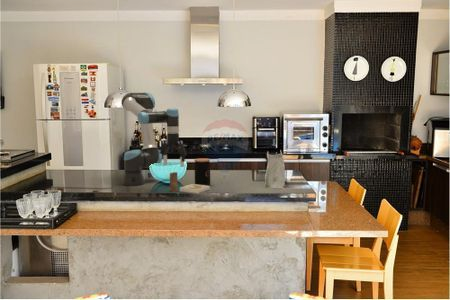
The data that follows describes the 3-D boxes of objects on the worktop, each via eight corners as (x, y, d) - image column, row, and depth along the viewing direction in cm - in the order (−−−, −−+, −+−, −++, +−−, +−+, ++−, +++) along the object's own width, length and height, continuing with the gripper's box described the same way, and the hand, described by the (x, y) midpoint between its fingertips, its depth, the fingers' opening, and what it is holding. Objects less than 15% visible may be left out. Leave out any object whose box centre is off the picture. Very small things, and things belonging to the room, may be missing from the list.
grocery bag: (265, 178, 325) (265, 147, 322) (284, 178, 324) (284, 147, 321) (264, 187, 294) (264, 153, 291) (285, 188, 292) (285, 153, 289)
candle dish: (179, 191, 284) (179, 187, 284) (192, 187, 296) (192, 183, 295) (197, 194, 277) (197, 189, 276) (209, 189, 288) (209, 185, 288)
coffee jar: (208, 187, 296) (208, 160, 294) (193, 186, 298) (192, 160, 296) (211, 184, 306) (211, 158, 304) (197, 183, 309) (196, 158, 306)
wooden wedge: (170, 191, 284) (169, 173, 282) (174, 190, 288) (174, 172, 286) (173, 192, 283) (172, 173, 281) (177, 190, 286) (177, 172, 285)
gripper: (153, 132, 284) (154, 165, 286) (185, 134, 271) (185, 168, 274) (161, 131, 290) (162, 163, 293) (192, 133, 277) (192, 166, 280)
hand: (173, 165), depth 283 cm, fingers open, 13 cm apart
